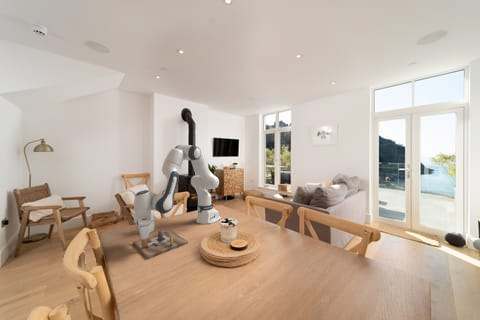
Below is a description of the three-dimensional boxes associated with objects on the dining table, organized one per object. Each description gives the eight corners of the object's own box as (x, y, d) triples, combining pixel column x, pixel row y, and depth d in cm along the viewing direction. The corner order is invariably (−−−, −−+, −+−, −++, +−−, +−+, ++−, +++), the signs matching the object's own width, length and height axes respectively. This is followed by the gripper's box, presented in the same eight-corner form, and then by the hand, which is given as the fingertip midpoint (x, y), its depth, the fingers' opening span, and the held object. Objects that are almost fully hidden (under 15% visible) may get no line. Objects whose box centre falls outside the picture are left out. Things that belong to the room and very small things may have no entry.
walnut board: (170, 232, 130) (170, 221, 130) (187, 243, 114) (188, 231, 114) (133, 243, 112) (133, 232, 112) (147, 259, 96) (148, 245, 96)
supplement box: (149, 233, 127) (149, 216, 127) (139, 233, 127) (139, 215, 127) (154, 229, 134) (154, 212, 134) (144, 229, 134) (144, 212, 134)
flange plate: (163, 236, 119) (163, 227, 119) (171, 240, 114) (171, 230, 114) (138, 245, 106) (138, 235, 106) (146, 250, 101) (146, 240, 101)
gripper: (134, 214, 114) (134, 235, 114) (138, 224, 97) (138, 250, 97) (146, 212, 117) (146, 233, 118) (151, 222, 101) (151, 246, 101)
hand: (142, 241), depth 107 cm, fingers closed
